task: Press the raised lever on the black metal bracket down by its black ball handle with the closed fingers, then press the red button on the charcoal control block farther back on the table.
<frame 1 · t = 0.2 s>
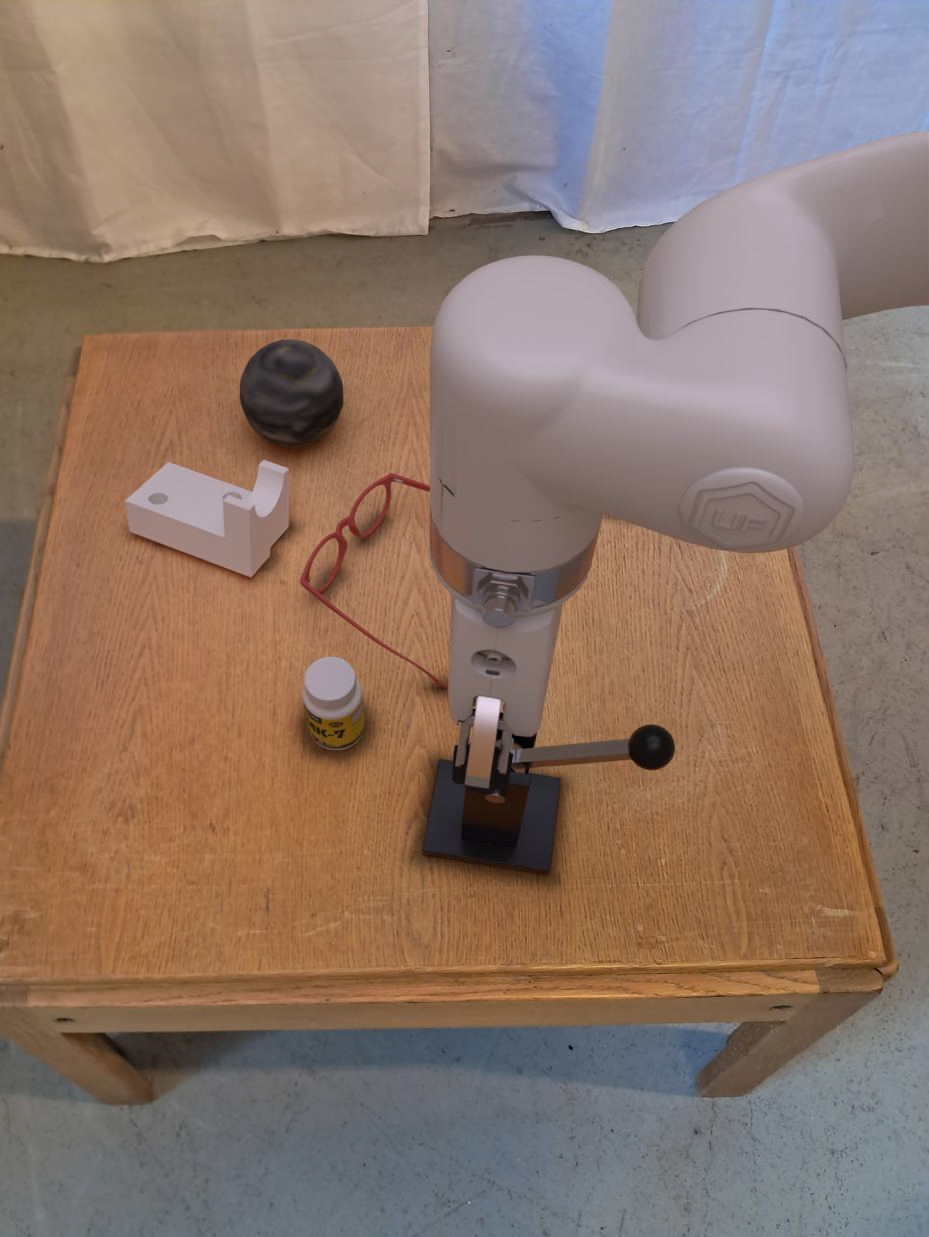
hand: (491, 709, 61), 23 cm above the table, tool pointing down, fingers open, 9 cm apart
supplement bottle: (337, 728, 86), on the table
bracket: (492, 818, 82), on the table
red eyeglasses: (415, 590, 93), on the table
lever: (573, 754, 69), point 14 cm above the table, hinge at 30.0°
decorative stone: (297, 432, 102), on the table
control block: (658, 476, 99), on the table
bracket 2: (215, 527, 96), on the table
button: (665, 451, 96), point 3 cm above the table, slide at 0.1 cm
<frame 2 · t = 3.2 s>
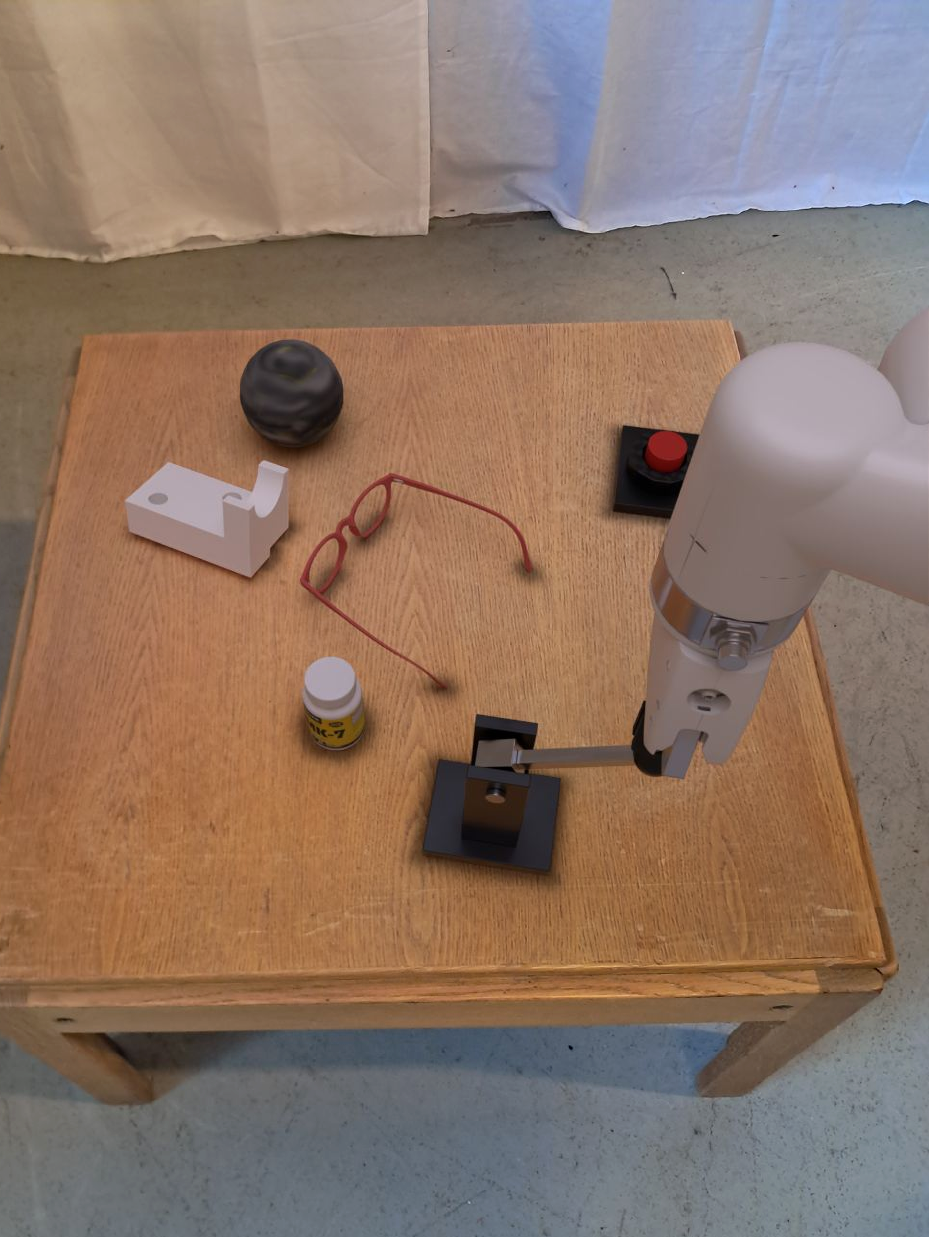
hand: (655, 743, 66), 17 cm above the table, tool pointing down, fingers closed
lever: (576, 757, 69), point 13 cm above the table, hinge at 24.7°, touching gripper
everything else where it was.
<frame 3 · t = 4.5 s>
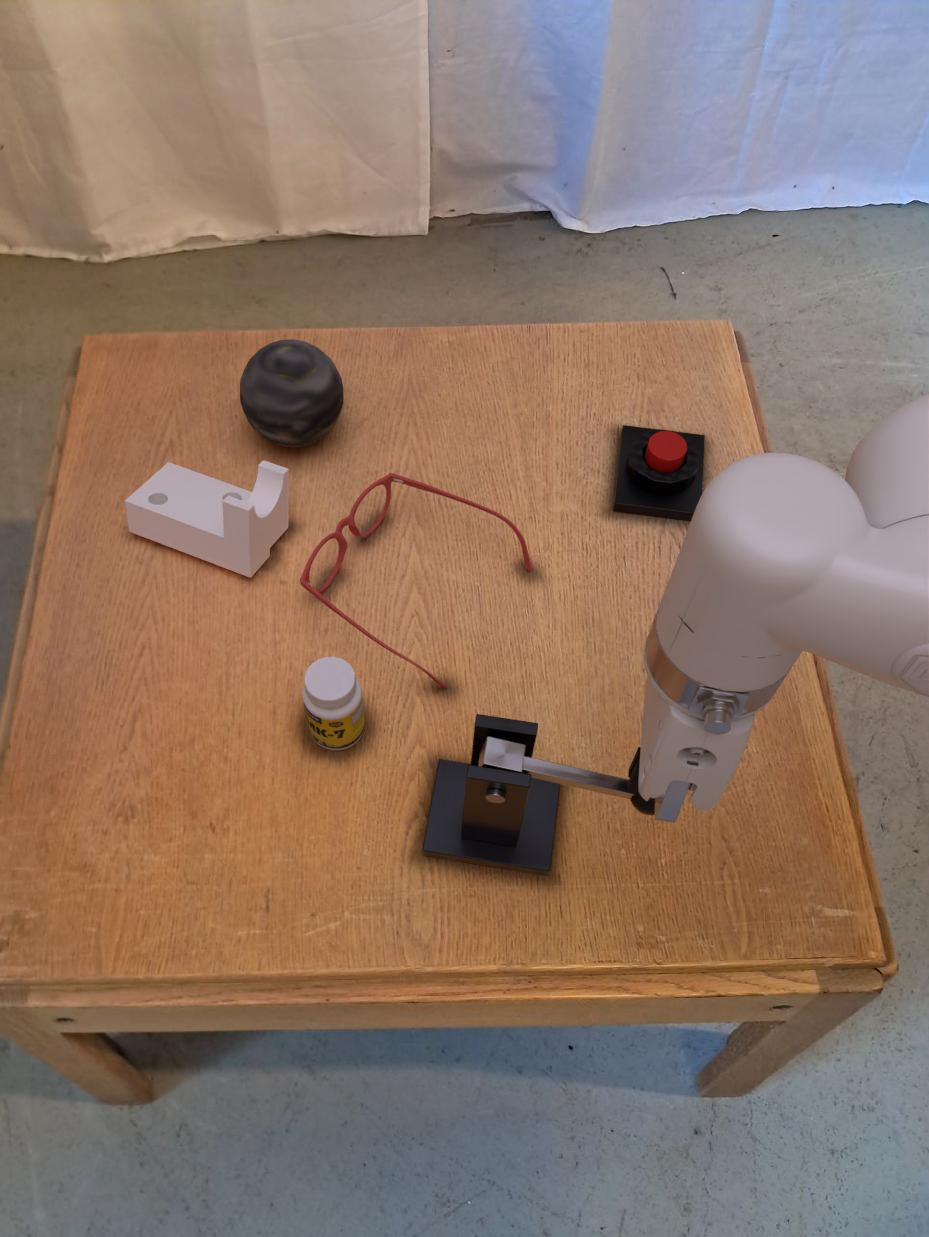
hand: (649, 784, 71), 11 cm above the table, tool pointing down, fingers closed
lever: (576, 777, 72), point 10 cm above the table, hinge at -8.8°, touching gripper
everything else where it was.
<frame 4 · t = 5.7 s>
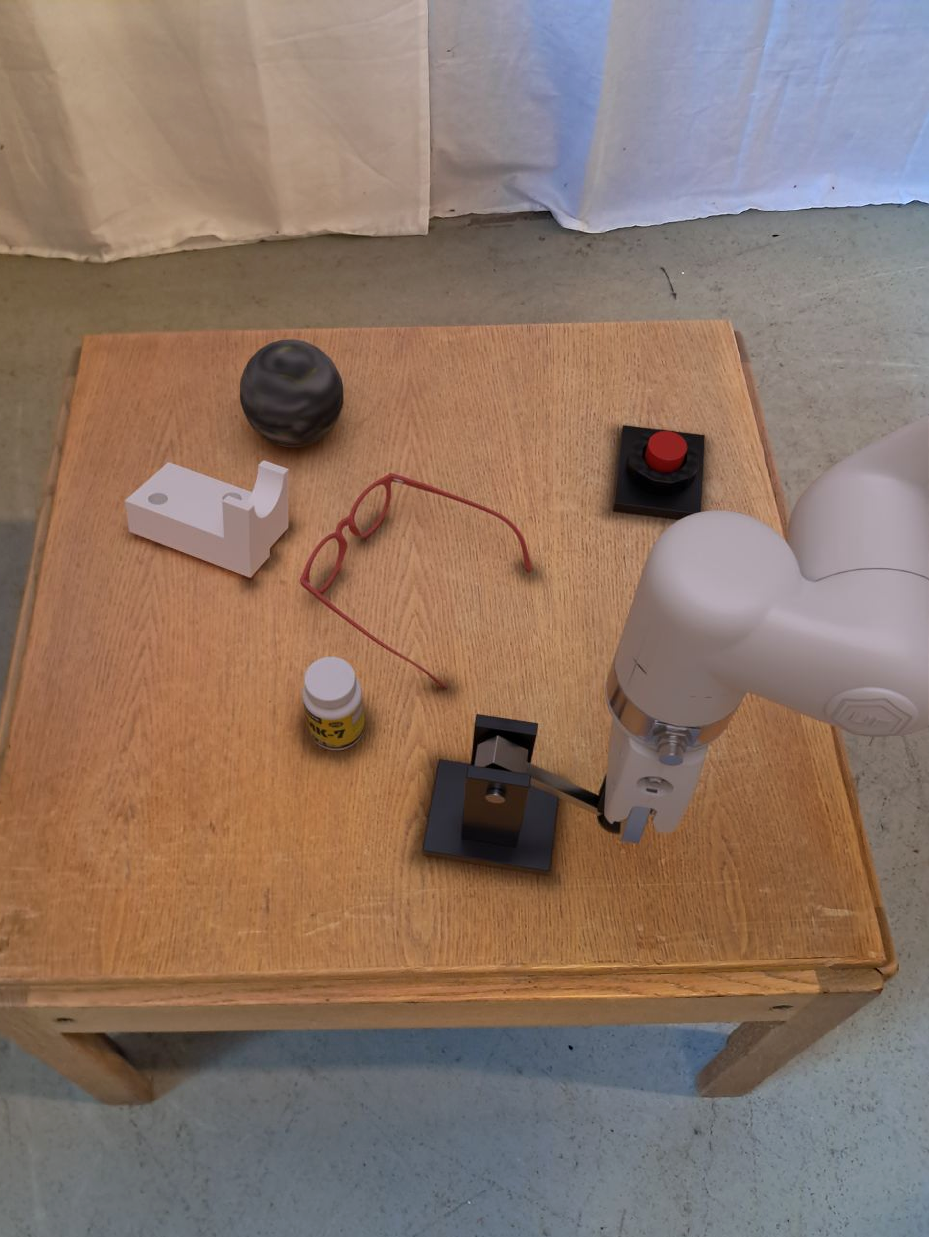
hand: (619, 806, 75), 6 cm above the table, tool pointing down, fingers closed
lever: (560, 788, 74), point 8 cm above the table, hinge at -33.6°, touching gripper
everything else where it was.
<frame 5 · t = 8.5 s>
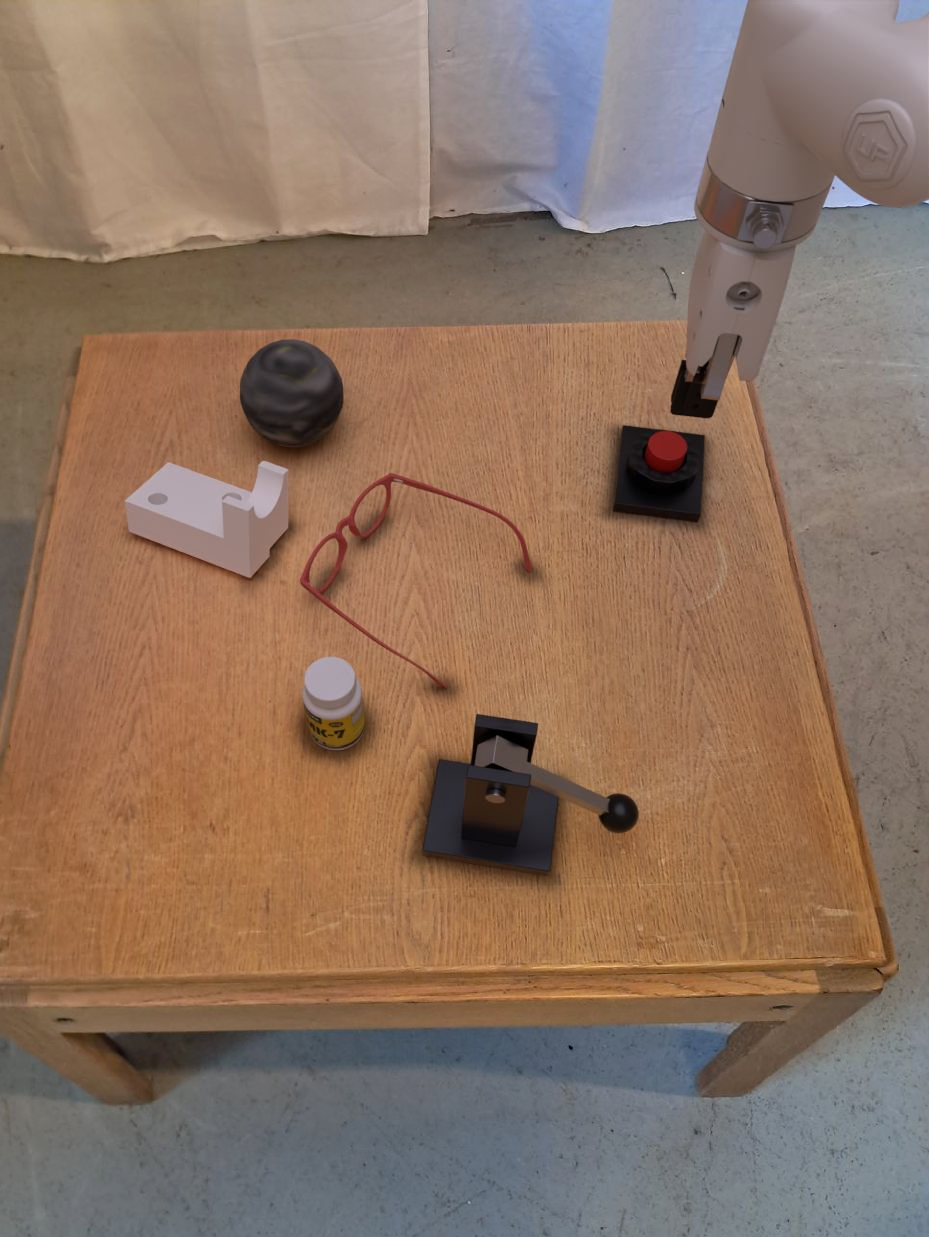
hand: (690, 408, 78), 19 cm above the table, tool pointing down, fingers closed
lever: (561, 787, 74), point 8 cm above the table, hinge at -32.5°
everything else where it was.
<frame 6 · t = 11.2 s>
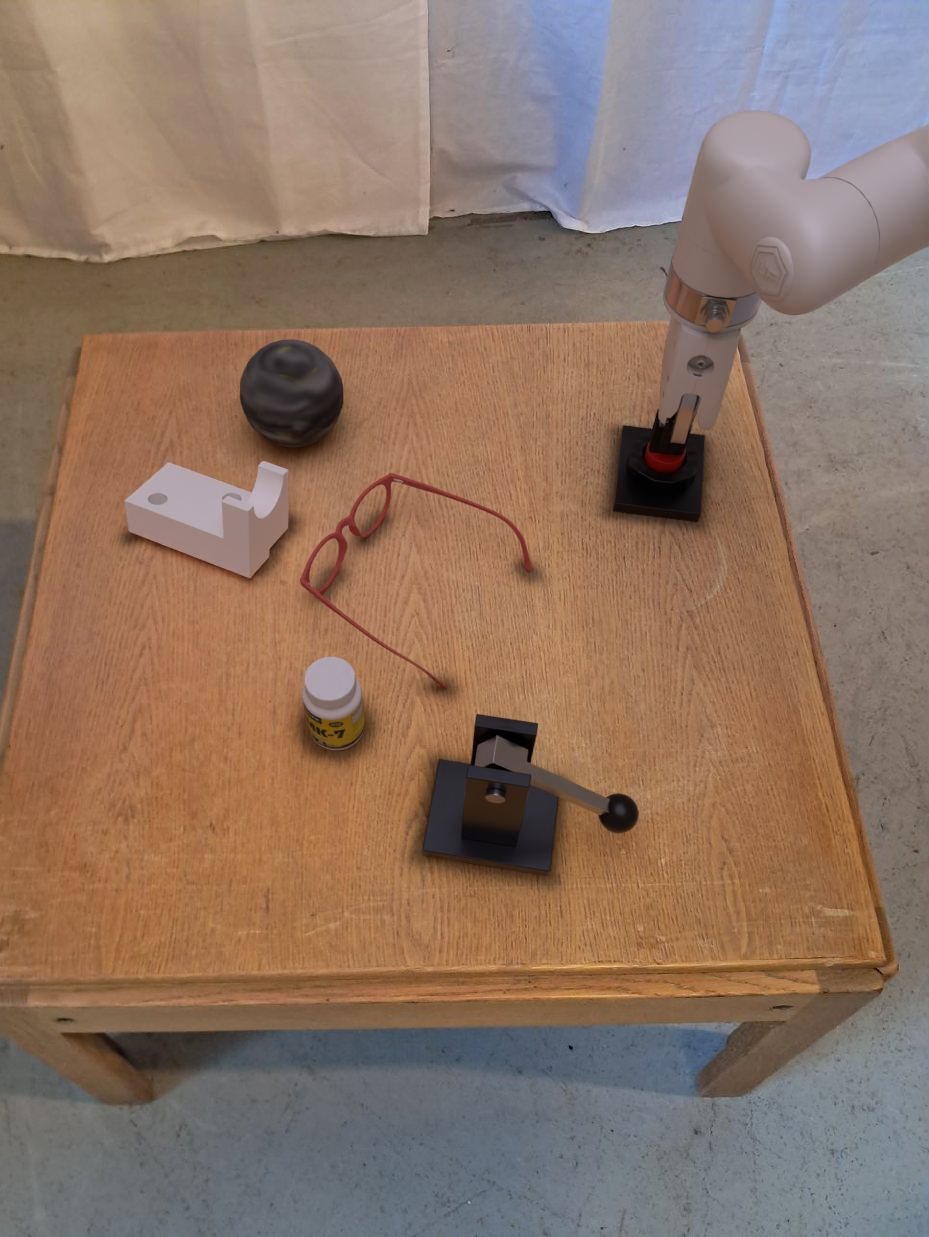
hand: (665, 447, 95), 4 cm above the table, tool pointing down, fingers closed
button: (664, 455, 96), point 3 cm above the table, slide at -0.3 cm, touching gripper
everything else where it was.
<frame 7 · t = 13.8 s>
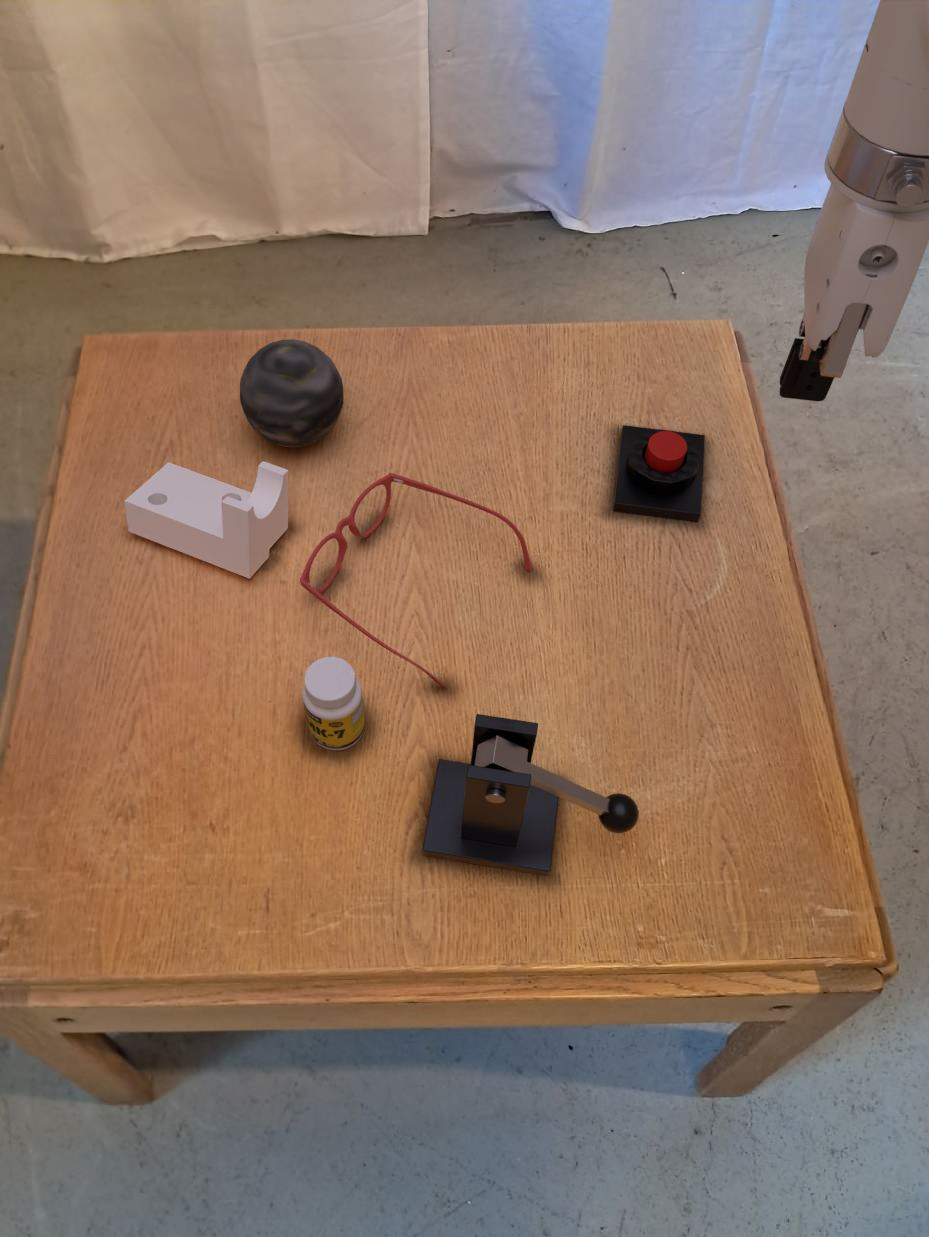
hand: (801, 391, 74), 22 cm above the table, tool pointing down, fingers closed
button: (665, 451, 96), point 3 cm above the table, slide at 0.1 cm
everything else where it was.
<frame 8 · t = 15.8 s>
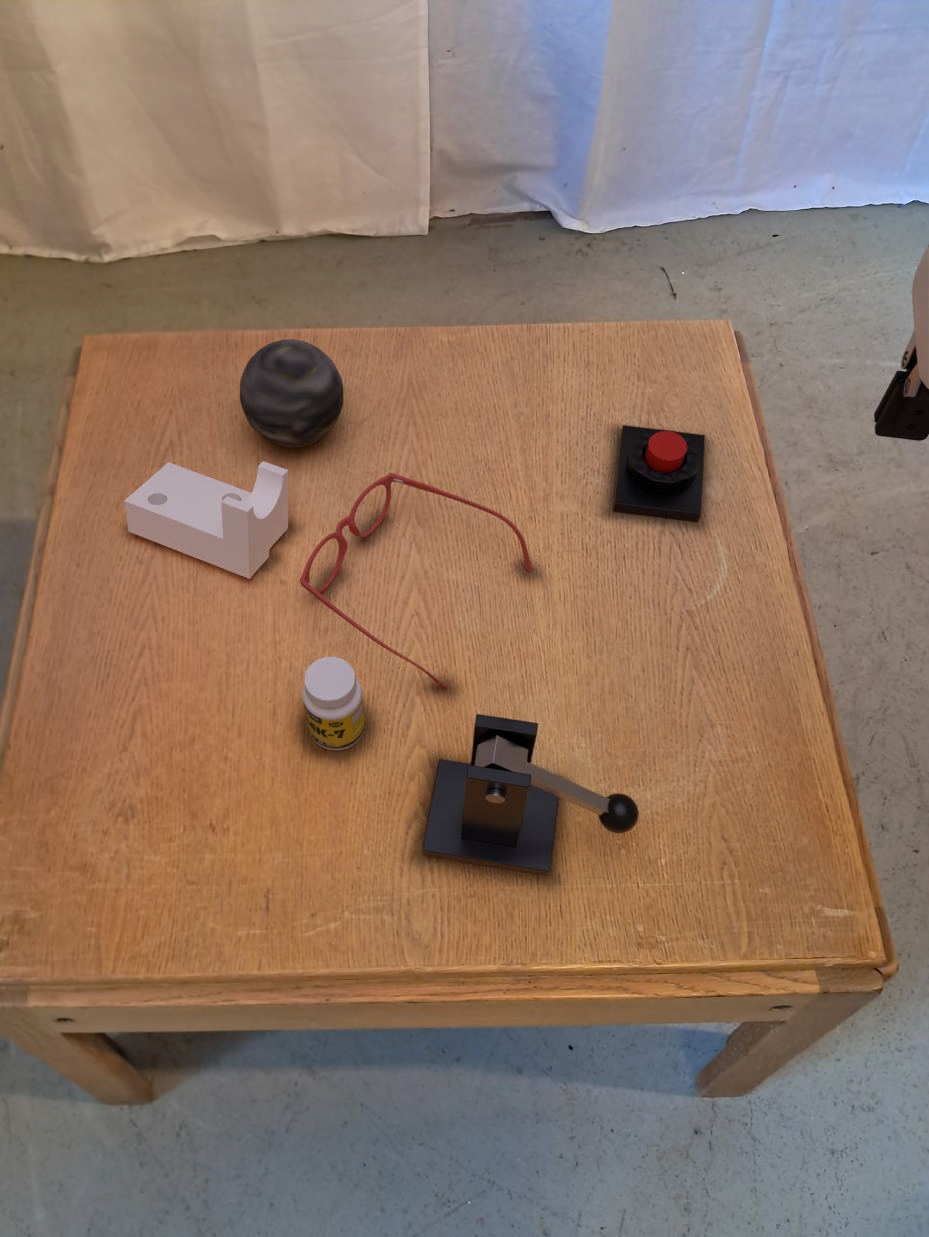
hand: (898, 428, 65), 27 cm above the table, tool pointing down, fingers closed
nothing on the table moved.
at the end: lever at -32° (first picture: +30°); button pushed in 1.1 cm at the most during the clip, back to where it started at the end; button slide at 0.1 cm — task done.
